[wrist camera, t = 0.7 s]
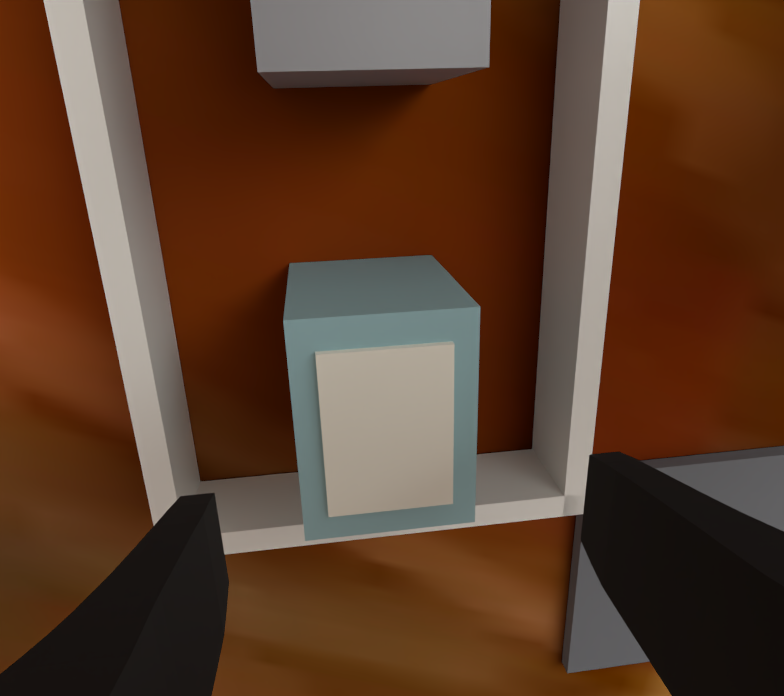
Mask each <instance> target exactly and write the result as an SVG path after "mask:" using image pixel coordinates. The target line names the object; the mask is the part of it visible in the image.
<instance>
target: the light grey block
mask: <svg viewBox="0 0 784 696" xmlns="http://www.w3.org/2000/svg"><path fill="white" fill-rule="evenodd" d="M250 2H251V12H252V22H253V32H254V42H255V52H256V62H257V72H258V73H259V74H260V75H261V76H262V77H263V78H264V79H265V80H266V81H267V82H268V83H269V84H270V85H271V86H272V88H308V87H349V86H389V85H430V84H434V83H437V82H441V81H444V80H447V79H451V78H454V77H458V76H461V75H464V74H468V73H471V72H475V71H478V70H481V69H485V68H488V67H489V57H490V20H491V0H250Z"/></svg>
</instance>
